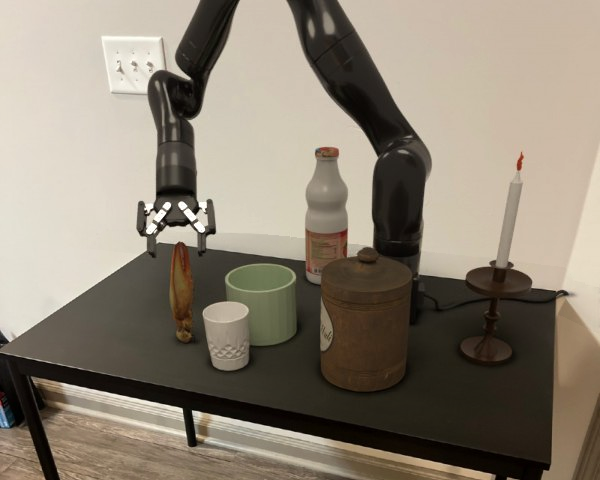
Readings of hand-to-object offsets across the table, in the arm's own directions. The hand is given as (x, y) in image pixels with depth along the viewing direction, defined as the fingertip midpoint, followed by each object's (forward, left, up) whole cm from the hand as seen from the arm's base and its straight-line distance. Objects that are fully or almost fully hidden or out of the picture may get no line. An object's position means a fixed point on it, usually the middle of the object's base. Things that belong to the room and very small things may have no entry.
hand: (176, 255), depth 111 cm
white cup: (-11, +11, -16) cm, 22 cm away
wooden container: (-35, +11, -16) cm, 40 cm away
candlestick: (-57, +3, -16) cm, 59 cm away
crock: (-15, -2, -16) cm, 22 cm away
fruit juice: (-25, -28, -16) cm, 41 cm away
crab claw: (-1, +5, -16) cm, 16 cm away
